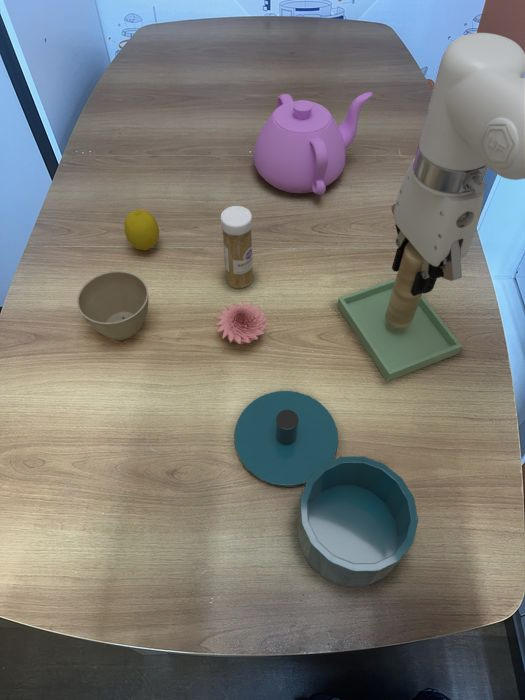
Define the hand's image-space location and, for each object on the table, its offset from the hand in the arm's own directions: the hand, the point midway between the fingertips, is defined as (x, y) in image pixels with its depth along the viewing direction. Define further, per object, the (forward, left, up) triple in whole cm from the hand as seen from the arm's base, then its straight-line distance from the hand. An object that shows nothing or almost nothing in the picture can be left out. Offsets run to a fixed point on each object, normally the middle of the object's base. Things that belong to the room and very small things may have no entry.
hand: (412, 278), depth 73 cm
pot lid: (-10, +23, -11) cm, 27 cm away
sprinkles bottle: (+19, +18, -11) cm, 29 cm away
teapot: (+40, -5, -11) cm, 42 cm away
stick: (0, 0, -9) cm, 9 cm away
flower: (+8, +22, -11) cm, 26 cm away
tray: (0, 0, -11) cm, 11 cm away
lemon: (+32, +30, -11) cm, 45 cm away
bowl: (+17, +38, -11) cm, 43 cm away
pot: (-24, +21, -11) cm, 34 cm away
